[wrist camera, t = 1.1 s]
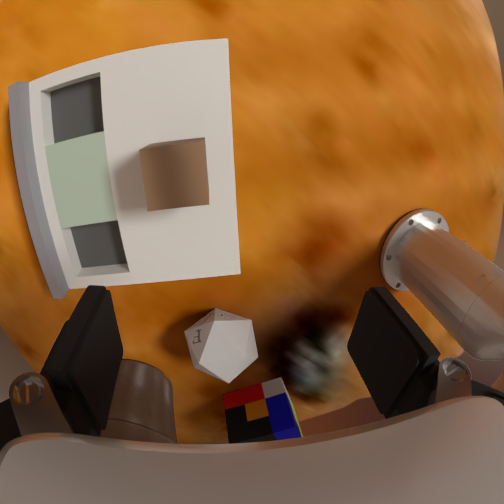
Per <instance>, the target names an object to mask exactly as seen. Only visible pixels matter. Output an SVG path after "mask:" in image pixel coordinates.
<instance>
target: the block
mask: <svg viewBox="0 0 504 504" xmlns="http://www.w3.org/2000/svg"><path fill="white" fill-rule="evenodd" d="M139 154H140V162H141V170H142V178H143V185H144V192H145V199H146V205H147V211H156V210H164V209H173V208H182V207H191V206H201V205H209V184H208V172H207V159H206V145H205V137H202V138H192V139H183V140H174V141H167V142H159V143H152V144H149V145H147V146H145V147H143V148H141V149H140V150H139Z"/></svg>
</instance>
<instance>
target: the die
mask: <svg viewBox="0 0 504 504" xmlns="http://www.w3.org/2000/svg"><path fill="white" fill-rule="evenodd" d="M184 333H185V337H186V340H187V344H188V348H189V352H190V355H191V359H192V363H193V366H194V368H196V369H198V370H200V371H202V372H204V373H206V374H209V375H211V376H213V377H215V378H218V379H220V380H222V381H224V382H227V383H230V382H231V381H232V380H233V379H234V378H236V377H237V376H238V375H239V374H240V373H241V372H242V371H244V370H245V369H246V368H247V367H248V366H249V365H250V364H251V363H252V362H254V361H255V360H256V359H257V358H258V352H257V347H256V342H255V336H254V331H253V325H252V320H250V319H247V318H244V317H241V316H238V315H235V314H232V313H229V312H226V311H223V310H220V309H217V308H215V309H213V310H212V311H211V312H209V313H208V314H207V315H206V316H204V317H203V318H201V319H200V320H199V321H197V322H196V323H195V324H193V325H192V326H191V327H189V328H188V329H187V330H185V331H184Z"/></svg>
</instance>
